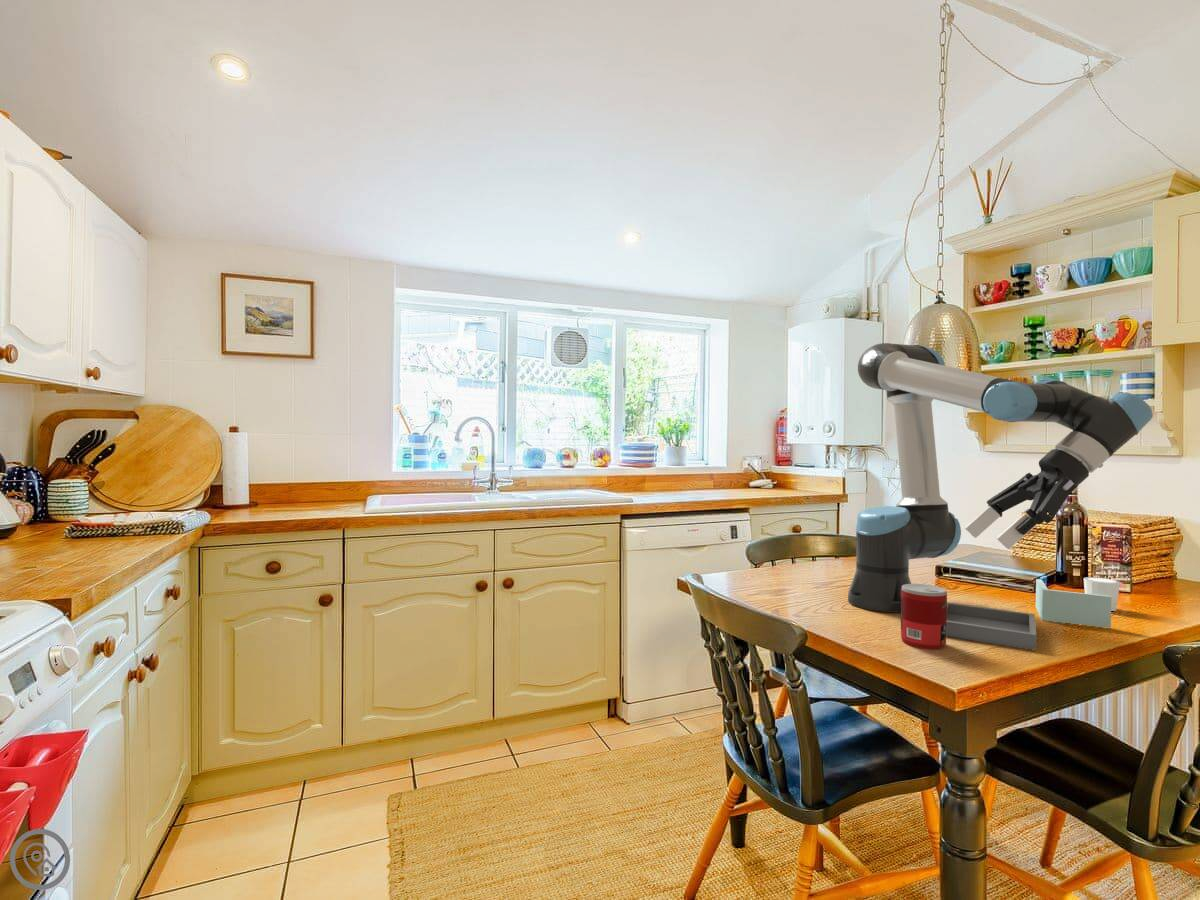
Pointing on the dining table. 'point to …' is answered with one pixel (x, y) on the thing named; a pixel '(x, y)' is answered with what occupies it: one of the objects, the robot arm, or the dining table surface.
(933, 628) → the canned food
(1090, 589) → the white cup
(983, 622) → the gray square tray
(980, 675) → the dining table surface
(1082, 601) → the l-shaped corner panel
